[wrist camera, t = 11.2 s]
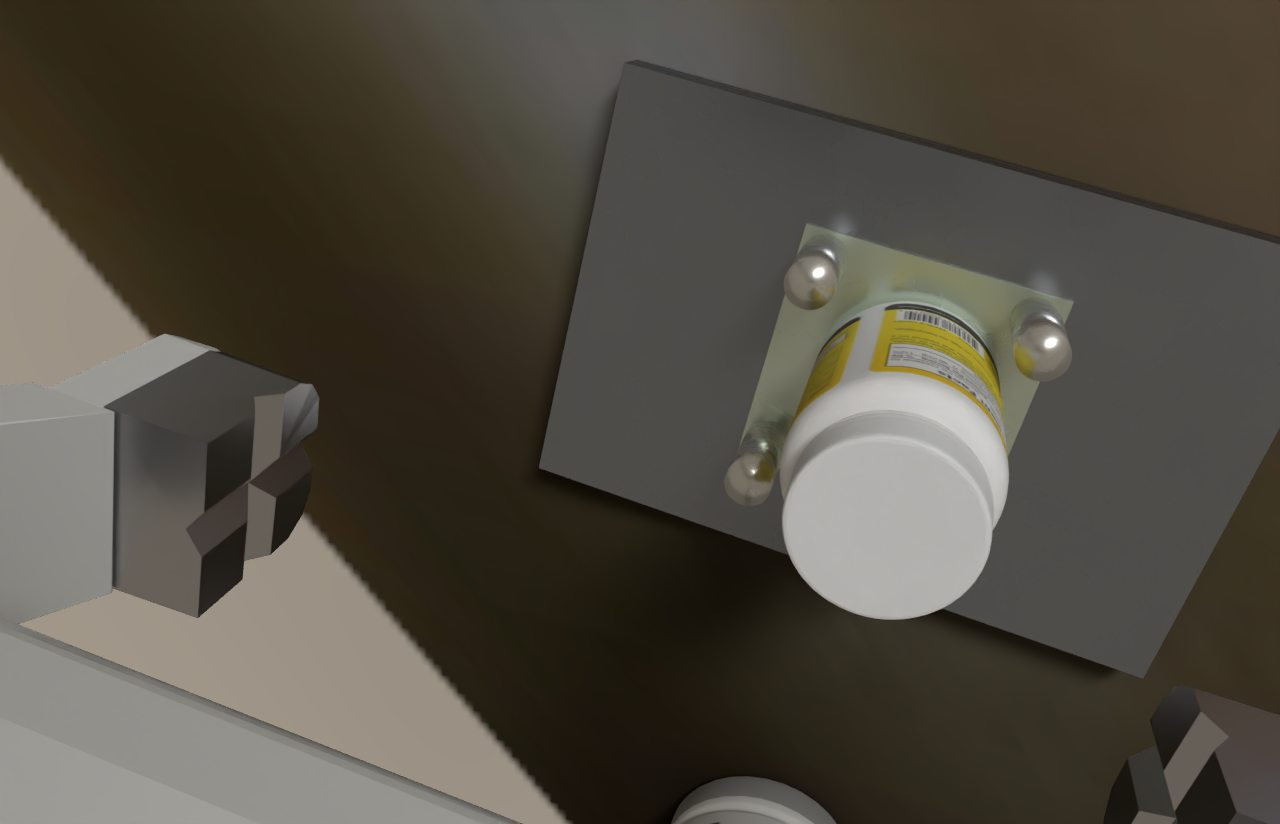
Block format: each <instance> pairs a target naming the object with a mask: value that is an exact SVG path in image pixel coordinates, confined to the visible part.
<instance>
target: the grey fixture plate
mask: <svg viewBox="0 0 1280 824" xmlns="http://www.w3.org/2000/svg"><path fill="white" fill-rule="evenodd" d="M899 301H912V302H922V303H927V304H931V305H934V306H937V307H940V308H943V309H945V310H947V311H950V312H951V313H953V314H955V315H957V316H958V317H960V318H961V319H963V320H964V321H965V322H967V323H968V324H969V325H970V326H971V327H972V328H973V329H974V330H975V331H976V332H977V333H978V334H979V335H980V337H981V338H982V339H983V340H984V342H985V343H986V345H987V346H988V348H989V350H990V352H991V354H992V356H993V359H994V361H995V364H996V367H997V371H998V376H999V382H1000V391H1001V400H1002V410H1003V419H1004V429H1005V438H1006V447H1007V457H1008V466H1009V483H1008V492H1007V498H1006V502H1005V505H1004V508H1003V511H1002V514H1001V516H1000V518H999V520H998V522H997V524H996V526H995V528H994V529H993V531H992V542H991V547H990V553H989V556H988V558H987V561H986V564H985V566H984V568H983V570H982V572H981V573H980V575H979V576H978V578H977V580H976V581H975V582H974V584H973V585H972V586H971V587H970V588H969V589H968V590H967V591H966V592H965V593H964V594H963V595H962V596H961V597H960V598H958V599H957V600H955V601H954V602H952V603H951V604H949V605H947V606H946V607H944V608H942V609H945V610H948V611H951V612H953V613H956V614H959V615H962V616H965V617H968V618H971V619H974V620H976V621H979V622H982V623H985V624H988V625H991V626H994V627H997V628H999V629H1002V630H1005V631H1008V632H1011V633H1014V634H1017V635H1019V636H1022V637H1025V638H1028V639H1031V640H1034V641H1037V642H1040V643H1042V644H1045V645H1048V646H1051V647H1054V648H1057V649H1060V650H1062V651H1065V652H1068V653H1071V654H1074V655H1077V656H1080V657H1083V658H1085V659H1088V660H1091V661H1094V662H1097V663H1100V664H1103V665H1106V666H1108V667H1111V668H1114V669H1117V670H1120V671H1123V672H1126V673H1128V674H1131V675H1134V676H1137V677H1140V678H1143V677H1144V676H1145V674H1146V672H1147V670H1148V668H1149V666H1150V665H1151V663H1152V661H1153V659H1154V657H1155V655H1156V654H1157V652H1158V650H1159V648H1160V646H1161V644H1162V643H1163V641H1164V639H1165V637H1166V635H1167V633H1168V632H1169V630H1170V628H1171V626H1172V624H1173V622H1174V621H1175V619H1176V617H1177V615H1178V613H1179V611H1180V610H1181V608H1182V606H1183V604H1184V602H1185V600H1186V599H1187V597H1188V595H1189V593H1190V591H1191V589H1192V588H1193V586H1194V584H1195V582H1196V580H1197V578H1198V577H1199V575H1200V573H1201V571H1202V569H1203V567H1204V566H1205V564H1206V562H1207V560H1208V558H1209V556H1210V555H1211V553H1212V551H1213V549H1214V547H1215V545H1216V544H1217V542H1218V540H1219V538H1220V536H1221V534H1222V533H1223V531H1224V529H1225V527H1226V525H1227V523H1228V522H1229V520H1230V518H1231V516H1232V514H1233V512H1234V511H1235V509H1236V507H1237V505H1238V503H1239V501H1240V500H1241V498H1242V496H1243V494H1244V492H1245V490H1246V489H1247V487H1248V485H1249V483H1250V481H1251V479H1252V478H1253V476H1254V474H1255V472H1256V470H1257V468H1258V467H1259V465H1260V463H1261V461H1262V459H1263V457H1264V456H1265V454H1266V452H1267V450H1268V448H1269V446H1270V445H1271V443H1272V441H1273V439H1274V437H1275V435H1276V434H1277V432H1278V430H1279V428H1280V237H1276V236H1273V235H1269V234H1265V233H1262V232H1258V231H1255V230H1251V229H1247V228H1244V227H1240V226H1236V225H1233V224H1229V223H1226V222H1222V221H1218V220H1215V219H1211V218H1207V217H1204V216H1200V215H1197V214H1193V213H1189V212H1186V211H1182V210H1179V209H1175V208H1171V207H1168V206H1164V205H1160V204H1157V203H1153V202H1150V201H1146V200H1142V199H1139V198H1135V197H1131V196H1128V195H1124V194H1121V193H1117V192H1113V191H1110V190H1106V189H1103V188H1099V187H1095V186H1092V185H1088V184H1084V183H1081V182H1077V181H1074V180H1070V179H1066V178H1063V177H1059V176H1055V175H1052V174H1048V173H1045V172H1041V171H1037V170H1034V169H1030V168H1026V167H1023V166H1019V165H1016V164H1012V163H1008V162H1005V161H1001V160H998V159H994V158H990V157H987V156H983V155H979V154H976V153H972V152H969V151H965V150H961V149H958V148H954V147H950V146H947V145H943V144H940V143H936V142H932V141H929V140H925V139H922V138H918V137H914V136H911V135H907V134H903V133H900V132H896V131H893V130H889V129H885V128H882V127H878V126H874V125H871V124H867V123H864V122H860V121H856V120H853V119H849V118H846V117H842V116H838V115H835V114H831V113H827V112H824V111H820V110H817V109H813V108H809V107H806V106H802V105H798V104H795V103H791V102H788V101H784V100H780V99H777V98H773V97H770V96H766V95H762V94H759V93H755V92H751V91H748V90H744V89H741V88H737V87H733V86H730V85H726V84H722V83H719V82H715V81H712V80H708V79H704V78H701V77H697V76H694V75H690V74H686V73H683V72H679V71H675V70H672V69H668V68H665V67H661V66H657V65H654V64H650V63H646V62H643V61H639V60H634V61H630V62H625V63H624V65H623V70H622V75H621V80H620V84H619V89H618V94H617V99H616V103H615V108H614V113H613V118H612V122H611V127H610V132H609V137H608V141H607V146H606V151H605V156H604V160H603V165H602V170H601V175H600V179H599V184H598V189H597V194H596V198H595V203H594V208H593V213H592V217H591V222H590V227H589V232H588V236H587V241H586V246H585V251H584V255H583V260H582V265H581V270H580V274H579V279H578V284H577V289H576V293H575V298H574V303H573V308H572V312H571V317H570V322H569V327H568V331H567V336H566V341H565V346H564V350H563V355H562V360H561V365H560V369H559V374H558V379H557V384H556V388H555V393H554V398H553V403H552V407H551V412H550V417H549V422H548V426H547V431H546V436H545V441H544V445H543V450H542V455H541V460H540V464H539V468H540V469H543V470H546V471H549V472H552V473H555V474H558V475H561V476H563V477H566V478H569V479H572V480H575V481H578V482H581V483H583V484H586V485H589V486H592V487H595V488H598V489H601V490H604V491H606V492H609V493H612V494H615V495H618V496H621V497H624V498H627V499H629V500H632V501H635V502H638V503H641V504H644V505H647V506H649V507H652V508H655V509H658V510H661V511H664V512H667V513H670V514H672V515H675V516H678V517H681V518H684V519H687V520H690V521H692V522H695V523H698V524H701V525H704V526H707V527H710V528H713V529H715V530H718V531H721V532H724V533H727V534H730V535H733V536H736V537H738V538H741V539H744V540H747V541H750V542H753V543H756V544H758V545H761V546H764V547H767V548H770V549H773V550H776V551H779V552H781V553H784V554H787V555H789V554H788V552H787V549H786V546H785V542H784V538H783V532H782V510H783V504H784V500H783V496H782V491H781V483H780V460H781V454H782V449H783V445H784V442H785V439H786V436H787V433H788V431H789V429H790V426H791V423H792V421H793V418H794V416H795V413H796V411H797V407H798V405H799V403H800V400H801V398H802V395H803V392H804V390H805V387H806V385H807V382H808V379H809V377H810V374H811V371H812V369H813V366H814V364H815V361H816V359H817V356H818V354H819V352H820V350H821V348H822V347H823V345H824V343H825V342H826V340H827V339H828V338H829V337H830V335H831V334H832V333H833V332H834V331H835V330H836V329H837V328H838V327H839V326H840V325H842V324H843V323H844V322H845V321H847V320H848V319H850V318H851V317H853V316H854V315H856V314H858V313H860V312H862V311H864V310H866V309H868V308H871V307H874V306H877V305H880V304H884V303H889V302H899Z"/></svg>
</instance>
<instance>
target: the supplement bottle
mask: <svg viewBox="0 0 1280 824" xmlns="http://www.w3.org/2000/svg"><path fill="white" fill-rule="evenodd" d="M780 483H781V491H782V496H783V500H784V504H783V510H782V532H783V538H784V542H785V546H786V549H787V552H788V554H789V556H790V559H791V561H792V563H793V565H794V566H795V568H796V569H797V571H798V572H799V574H800V575H801V576H802V578H803V579H804V580H805V581H806V582H807V583H808V584H809V586H810V587H811V588H812V589H813V590H815V591H816V592H817V593H818V594H820V595H821V596H822V597H824V598H825V599H826V600H828V601H830V602H831V603H833V604H835V605H837V606H838V607H840V608H842V609H845V610H847V611H849V612H852V613H855V614H858V615H862V616H865V617H870V618H876V619H908V618H914V617H919V616H923V615H927V614H930V613H932V612H935V611H937V610H940V609H942V608H944V607H946V606H947V605H949V604H951V603H952V602H954V601H955V600H957V599H958V598H960V597H961V596H962V595H963V594H964V593H965V592H966V591H967V590H968V589H969V588H970V587H971V586H972V585H973V584H974V582H975V581H976V580H977V578H978V576H979V575H980V573H981V572H982V570H983V568H984V566H985V564H986V561H987V558H988V556H989V553H990V547H991V542H992V531H993V529H994V528H995V526H996V524H997V522H998V520H999V518H1000V516H1001V514H1002V511H1003V508H1004V505H1005V502H1006V498H1007V492H1008V483H1009V466H1008V457H1007V447H1006V438H1005V429H1004V419H1003V410H1002V400H1001V391H1000V382H999V376H998V371H997V367H996V364H995V361H994V359H993V356H992V354H991V352H990V350H989V348H988V346H987V345H986V343H985V342H984V340H983V339H982V338H981V337H980V335H979V334H978V333H977V332H976V331H975V330H974V329H973V328H972V327H971V326H970V325H969V324H968V323H967V322H965V321H964V320H963V319H961V318H960V317H958V316H957V315H955V314H953V313H951V312H950V311H947V310H945V309H943V308H940V307H937V306H934V305H931V304H927V303H922V302H912V301H899V302H889V303H884V304H880V305H877V306H874V307H871V308H868V309H866V310H864V311H862V312H860V313H858V314H856V315H854V316H853V317H851V318H850V319H848V320H847V321H845V322H844V323H843V324H842V325H840V326H839V327H838V328H837V329H836V330H835V331H834V332H833V333H832V334H831V335H830V337H829V338H828V339H827V340H826V342H825V343H824V345H823V347H822V348H821V350H820V352H819V354H818V356H817V359H816V361H815V364H814V366H813V369H812V371H811V374H810V377H809V379H808V382H807V385H806V387H805V390H804V392H803V395H802V398H801V400H800V403H799V405H798V407H797V411H796V413H795V416H794V418H793V421H792V423H791V426H790V429H789V431H788V433H787V436H786V439H785V442H784V445H783V449H782V454H781V460H780Z"/></svg>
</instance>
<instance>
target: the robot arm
mask: <svg viewBox="0 0 1280 824" xmlns="http://www.w3.org/2000/svg"><path fill="white" fill-rule="evenodd" d="M318 406H319V397H318V395H317V393H316V391H315V389H314V387H313V385H312V384H310V383H307V382H304V381H302V380H299V379H296V378H293V377H291V376H288V375H285V374H282V373H280V372H277V371H274V370H272V369H269V368H266V367H263V366H261V365H258V364H255V363H252V362H250V361H247V360H244V359H242V358H239V357H236V356H233V355H231V354H228V353H225V352H220V351H219V350H218V349H216V348H213V347H210V346H207V345H204V344H201V343H198V342H194V341H191V340H188V339H185V338H182V337H178V336H173V335H168V334H163V335H161V336H159V337H157V338H155V339H152V340H150V341H148V342H146V343H144V344H142V345H140V346H137V347H135V348H133V349H131V350H129V351H127V352H124V353H122V354H120V355H118V356H116V357H114V358H112V359H110V360H107V361H105V362H103V363H101V364H99V365H97V366H95V367H92V368H90V369H88V370H86V371H84V372H82V373H79V374H77V375H75V376H73V377H71V378H69V379H67V380H64V381H62V382H60V383H58V384H56V385H54V386H52V387H49V388H47V387H44V386H41V385H39V384H35V383H25V384H12V385H0V824H522V823H519V822H516V821H514V820H511V819H509V818H506V817H504V816H501V815H498V814H496V813H494V812H491V811H489V810H486V809H484V808H481V807H478V806H476V805H473V804H471V803H468V802H466V801H463V800H461V799H458V798H456V797H453V796H451V795H448V794H445V793H443V792H441V791H438V790H436V789H433V788H431V787H428V786H425V785H423V784H420V783H418V782H415V781H413V780H410V779H408V778H405V777H403V776H400V775H397V774H395V773H392V772H390V771H388V770H385V769H382V768H380V767H377V766H375V765H372V764H370V763H367V762H365V761H362V760H360V759H357V758H355V757H352V756H349V755H347V754H344V753H342V752H339V751H337V750H334V749H332V748H329V747H327V746H324V745H322V744H319V743H317V742H314V741H312V740H309V739H307V738H304V737H302V736H299V735H297V734H294V733H291V732H289V731H286V730H284V729H281V728H279V727H276V726H274V725H271V724H269V723H266V722H263V721H261V720H259V719H256V718H254V717H251V716H248V715H246V714H243V713H241V712H238V711H236V710H233V709H231V708H228V707H226V706H223V705H221V704H218V703H216V702H213V701H211V700H208V699H205V698H203V697H200V696H198V695H195V694H193V693H190V692H188V691H185V690H183V689H180V688H177V687H175V686H173V685H170V684H168V683H165V682H162V681H160V680H157V679H155V678H152V677H150V676H147V675H145V674H142V673H140V672H137V671H135V670H132V669H130V668H127V667H125V666H122V665H120V664H117V663H114V662H112V661H109V660H107V659H104V658H102V657H99V656H97V655H94V654H92V653H89V652H87V651H84V650H82V649H79V648H77V647H74V646H71V645H69V644H66V643H64V642H61V641H59V640H56V639H54V638H51V637H49V636H46V635H44V634H41V633H39V632H36V631H33V630H31V629H28V628H26V627H23V626H21V625H18V624H20V623H23V622H26V621H29V620H32V619H35V618H38V617H41V616H44V615H46V614H50V613H53V612H56V611H59V610H61V609H65V608H68V607H71V606H74V605H76V604H80V603H83V602H86V601H89V600H92V599H95V598H98V597H101V596H104V595H107V594H110V593H112V588H113V589H116V590H119V591H122V592H125V593H128V594H131V595H134V596H136V597H139V598H142V599H145V600H148V601H150V602H153V603H156V604H159V605H162V606H165V607H168V608H171V609H173V610H176V611H179V612H182V613H185V614H188V615H190V616H193V617H196V618H199V617H200V616H201V615H202V614H203V613H204V612H205V611H207V610H208V609H209V608H210V607H211V606H212V605H213V604H215V603H216V602H217V601H218V600H219V599H220V598H221V597H223V596H224V595H225V594H226V593H227V592H228V591H230V590H231V589H232V588H233V587H234V586H235V585H236V584H238V583H239V582H240V581H241V580H242V578H243V565H244V561H246V560H250V559H254V558H258V557H263V556H267V555H271V554H272V553H273V552H274V551H275V550H276V549H277V548H278V547H279V546H280V545H281V544H282V543H283V542H285V541H286V540H287V539H288V537H289V536H290V534H291V532H292V531H293V529H294V527H295V526H296V524H297V522H298V521H299V519H300V517H301V516H302V514H303V511H304V508H305V505H306V502H307V498H308V495H309V492H310V486H311V478H312V470H313V468H312V466H311V464H310V462H309V460H308V458H307V456H306V454H305V451H304V449H303V447H302V445H301V442H302V441H303V440H305V439H306V438H307V437H308V436H309V435H310V434H311V433H312V432H314V431H315V430H316V429H317V421H318ZM1150 722H1151V726H1152V730H1153V733H1154V737H1155V741H1156V745H1157V746H1155V747H1153V748H1150V749H1148V750H1146V751H1143V752H1141V753H1139V754H1137V755H1134V756H1132V757H1130V758H1127V760H1126V762H1125V764H1124V766H1123V768H1122V770H1121V772H1120V773H1119V775H1118V777H1117V779H1116V781H1115V783H1114V785H1113V786H1112V789H1111V793H1110V797H1109V800H1108V804H1107V808H1106V812H1105V816H1104V824H1280V716H1278V715H1275V714H1272V713H1269V712H1265V711H1262V710H1259V709H1256V708H1253V707H1250V706H1247V705H1243V704H1240V703H1237V702H1234V701H1231V700H1228V699H1225V698H1222V697H1218V696H1215V695H1212V694H1209V693H1206V692H1203V691H1200V690H1196V689H1193V688H1189V687H1185V686H1181V685H1177V686H1176V687H1175V688H1174V689H1172V690H1171V691H1170V692H1169V693H1168V694H1167V695H1166V696H1165V697H1164V698H1163V700H1162V701H1161V703H1160V705H1159V706H1158V708H1157V709H1156V711H1155V713H1154V714H1153V716H1152V718H1151V719H1150Z"/></svg>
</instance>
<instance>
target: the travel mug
mask: <svg viewBox="0 0 1280 824" xmlns="http://www.w3.org/2000/svg"><path fill="white" fill-rule="evenodd" d="M671 824H836V822H835V821H834V820H833V818H832V817H831V816H830V814H829V813H828V812H827V811H826V810H824V809H823V808H822V807H821V806H820V805H819V804H818V803H817V802H816V801H814V800H813V799H811V798H810V797H808V796H807V795H805V794H804V793H802V792H801V791H798V790H796V789H794V788H792V787H790V786H788V785H786V784H783V783H780V782H776V781H773V780H770V779H766V778H759V777H752V776H735V777H727V778H722V779H718V780H714V781H712V782H709V783H707V784H705V785H702V786H700V787H698V788H697V789H696V790H694V791H693V792H691V793H690V794H689V795H688V796H687V797H686V798H685V799H684V800H683V801H682V803H681V804H680V805H679V806H678V809H677V811H676V813H675V815H674V817H673V820H672V823H671Z"/></svg>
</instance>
